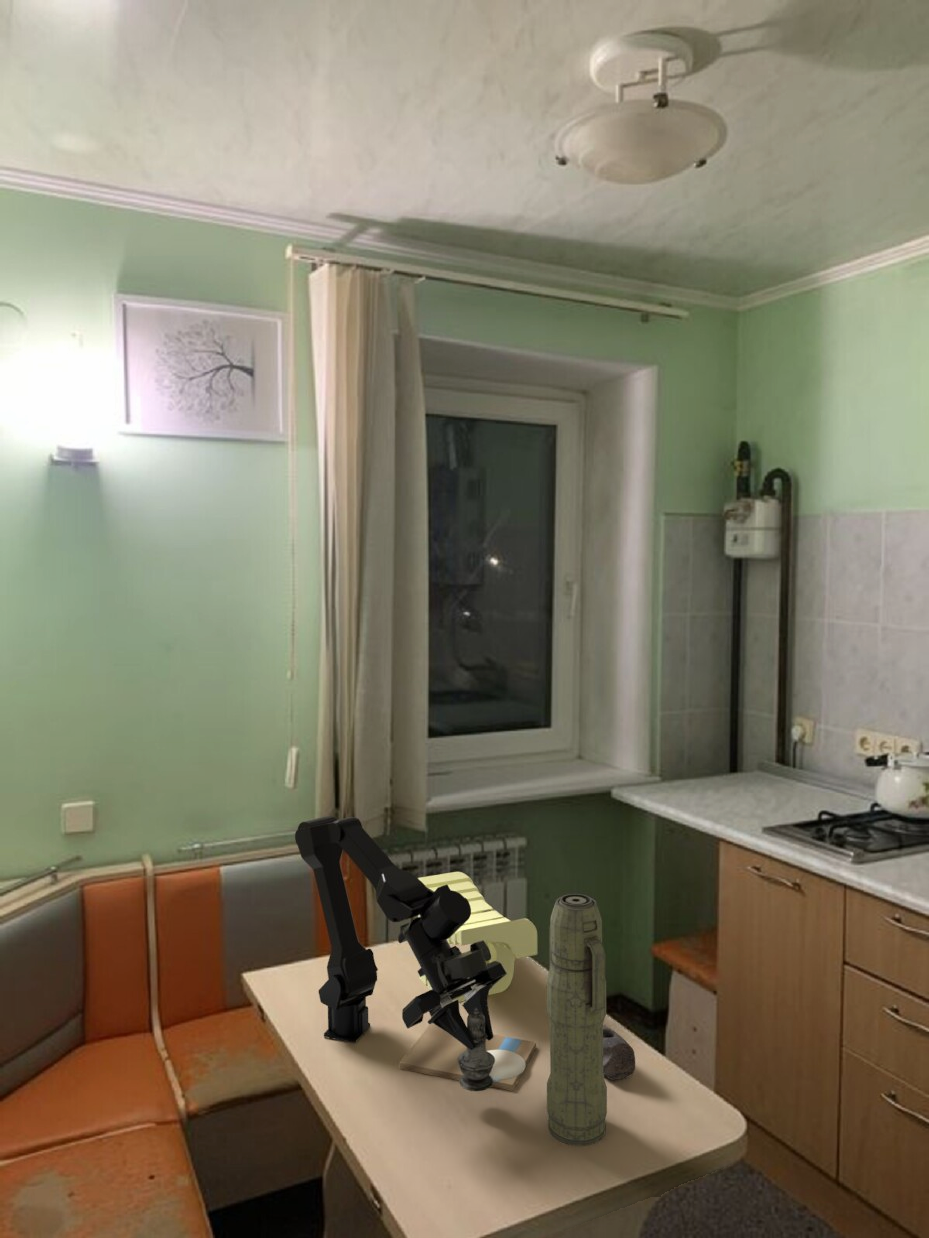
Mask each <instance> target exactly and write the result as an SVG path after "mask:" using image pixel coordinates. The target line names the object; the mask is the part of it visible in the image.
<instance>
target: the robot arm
mask: <svg viewBox="0 0 929 1238" xmlns="http://www.w3.org/2000/svg"><path fill="white" fill-rule="evenodd" d="M294 833H295V834H294V839H295V843H296V845H297V847H298V850H299V851H298V852H299V854H300V857H301V859H302V860H304V862H305V863H306V864H307V865H308V866H309V867H310V868H311V869H312V870H313V874H314V878H315V884H316V887H317V891H318V896H319V899H320V900H319V901H320V904H321V909H322V913H323V918H324V922H325V926H326V930H327V934H328V938H329V943H330V948H331V950H330V954H329V956H328V957H329V958H328V962H327V966H326V969H327V970H326V972H327V981H326V982H324V984H323V985H322V986H321V987H320V988H319V989H318V995H319V996H318V997H319V1001H320V1003H321V1004H323V1005H325V1006H327V1029H326V1031H325V1032H324V1033H323V1037H324V1038H328V1037H330V1038H329V1039H332V1040H333V1039H334V1040H338V1041H339V1040H340V1041H344V1042H351V1043H356V1042H358V1040H360V1038H361V1037H362V1036H363V1035H364V1034H365V1033H366V1032H367V1030H368V1029H369V1028H371V1023H370V1022H369V1007H368V1006H367V1000H366V999H367V998H366V997H369V996H373V995H374V994H373V993H374V989H375V985H376V983H377V981H378V971H379V969H378V967H377V964H376V961H375V957H374V952H373V950H372V948H366V947H365V946H364V945H363V943H361V942H360V941H359V938H358V937H359V936H358V934H357V929H356V925H355V921H354V918H353V913H352V907H351V904H350V900H349V896H348V892H347V887H346V884H345V883H346V882H345V880H344V875H343V870H342V866H341V863H340V862H341V860H342V855H343V852H345V854H346V855H347V856H348V857H349V858H350V860H351V861H352V862H353V863H354V864H355V866H356V867H357V868H358V869H359V870H360V871H361V873H362V874H363V875H364V877H365V878H366V879H367V880H368V881H369V882H370V884H372V887H374V890H375V896H376V897H375V898H376V902H377V905H378V906H379V907H380V909H381V911H382V912H383V913H384V915H385V917H386V918H387V919H388V920H389V921H390V922H391V923H400V922H403V921H406V920H409V919H412V918H413V920H412V921H411V922H408V923H404V924H402V925H400V928H399V929H400V931H399V934H398V936H397V937H398V939H397V942H398V943H399V944H402V943H404V942H407V944H408V945H409V947H410V949H411V950H412V953H413V955H414V957H415V958H416V960H417V962H418V965H419V967H420V968H419V969H418V970H417V973H418V976H420V977H422V976H424V975H425V976H426V978H427V980H428V982H429V984H430V985H431V987H432V989H433V990H430V989H429V990H428V991H425V992H422V993H421V994H419V995H417V996H415V997H414V998H413V999H411V1001H410V1002H409V1003H408V1004H407V1005H406V1006H404V1008H402V1013H401V1014H402V1016H401V1017H402V1020H403V1024H404V1025H405V1027H406V1028H407V1029H410V1028H412V1027H414V1026H416V1025H418V1024H420V1023H422V1022H423V1019H424V1016H425V1014H427V1013H429V1015H430V1018H429V1019H428V1021H427V1023H428V1025H430V1024H435V1025H437V1026H438V1027H440V1028H441V1029H443V1030H444V1031H446V1032H448V1033H449V1034H450V1035H452V1036H453V1037H454V1038H456V1039H457V1040H458V1041H460V1042H461V1043H462V1044H463V1045H465V1046H466V1047H467V1048H469V1049H470V1050H473V1049H474V1048H475V1047H476V1046H475V1043H474V1041H473V1038H472V1036H471V1034H470V1032H469V1030H468V1028H467V1023H466V1022H465V1020H464V1019H463V1017H462V1015H461V1013H460V1002H459V1000H456V1001H454V1002H452V1000H454V999H456V998H458V997H460V996H464V997H465V999H466V1000H465V1002H464V1003H463V1004H462V1007H463V1009H464V1010H465V1012H466V1013H467V1014H468V1015H469V1014H470V1013H471V1012H474V1009H475V1007H477V1009H478V1012H481V1013H482V1014H483V1015H484V1017H485V1033H486V1034H487V1036H488V1037H487V1040H491V1039H492V1038H493V1035H494V1033H493V1032H494V1031H493V1029H492V1028H493V1026H492V1022H491V1021H492V1020H491V1017H490V1011H489V1004H488V1000H489V999H488V998H489V995H488V993H489V990H490V989H491V988H492V986H494V985H495V984H496V983H497V982H498V981H499V980H500V979H501V978H503V977H504V976H505V975H506V974H507V973H506V971H505V969H504V968H503V966H502V964H501V963H499V962H497V961H493V962H491V963H489V964H486V961H489V960H490V959H491V953H490V950H489V948H488V946H487V945H486V943H485V942H484V941H483V940H482V941H478V942H475V943H473V944H469V950H468V951H465V952H462V951H461V950H460V948H459V947H457V945H454V946H451V944H449V943H448V941H447V939H448V938H450V937H451V936H452V935H453V934H454V933H455V932H456V931H457V930H458V929H459V928H460V927H461V926H462V925H463V924H464V923H465V922H466V921H467V920H468V919H469V918H470V915H471V907H470V904H469V902H468V900H467V899H466V898H464V897H463V896H462V895H461V894H460V893H458V892H456V891H452V890H450V888H449V886H448V885H444V886H441V887H438V888H437V889H436V890H435V892H434V891H432V890H431V889H429V888H427V887H426V886H425V885H424V884H423V883H422V882H421V881H420V880H419V879H418V878H419V877H417V876H415V875H414V874H413V873H412V872H409V871H406V870H404V869H402V868H400V867H398V866H397V865H395V863H394V861H393V862H392V860H391V859H390V858H389V857H388V856H387V854H386V853H385V852H384V851H383V849H382V848H381V847H380V846H379V845H378V844H377V843H376V842H375V840H373V838H372V837H371V836H370V835H369V833H368V832H367V831H366V829H364V828H363V826H362V822H361V820H360V819H359V818H358V817H354V816H349V817H344V818H340V819H339V818H338V819H336V818H335V817H334V816H333V815H324V816H322V817H321V816H320V817H318V818H314V819H310V820H305V821H302V822H301V823H299V824H298V827H297V830H296V831H295V832H294ZM418 915H420V917H418ZM416 916H417V917H416ZM414 917H416V918H414ZM469 977H470V978H469Z"/></svg>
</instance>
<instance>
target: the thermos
mask: <svg viewBox="0 0 929 1238" xmlns="http://www.w3.org/2000/svg"><path fill="white" fill-rule="evenodd" d="M600 913H601V912H600V909H599V906H598V904H597V901H596V900H595V899H594V898H592V897H590V896H588V895H586V894H579V893H569V894H564V895H562V896H559V898H557V899H556V900H555V903H554V905H553V908H552V912H551V915H550V924H549V925H548V973H547V976H546V1012H547V1016H548V1018H549V1033H550V1035H549V1040H550V1041H549V1042H550V1043H549V1044H550V1046H549V1048H550V1049H549V1053H550V1054H549V1055H550V1056H549V1057H550V1058H549V1059H550V1060H549V1062H550V1065H549V1066H550V1068H549V1069H550V1074H549V1077H548V1079H547V1081H546V1110H547V1111H546V1112H547V1115H548V1120H547V1126H548V1131H549V1133H550V1134H551V1135H552V1137H554V1138H555V1139H556V1140H558V1141H559V1142H562V1143H564V1144H565V1145H566V1144H567V1145H572V1146H588V1145H592V1143H593V1144H595V1143H597V1142H598V1141H600V1139H601V1140H602V1139H603V1138H604V1136H605V1135H606V1131H607V1124H606V1118H607V1113H608V1096H607V1095H608V1086H607V1083H606V1081H605V1078H604V1074H603V1025H604V1021H605V1019H606V1016H607V980H606V958H607V955H606V951H605V947H604V945H603V920H602V916H601V914H600Z"/></svg>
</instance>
